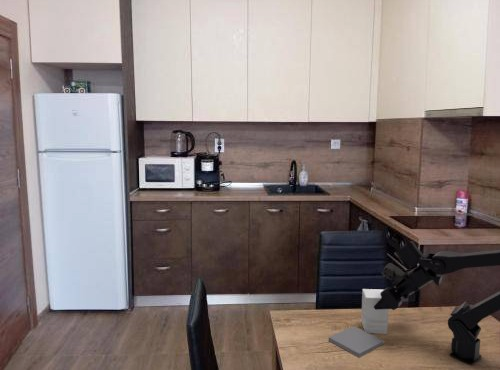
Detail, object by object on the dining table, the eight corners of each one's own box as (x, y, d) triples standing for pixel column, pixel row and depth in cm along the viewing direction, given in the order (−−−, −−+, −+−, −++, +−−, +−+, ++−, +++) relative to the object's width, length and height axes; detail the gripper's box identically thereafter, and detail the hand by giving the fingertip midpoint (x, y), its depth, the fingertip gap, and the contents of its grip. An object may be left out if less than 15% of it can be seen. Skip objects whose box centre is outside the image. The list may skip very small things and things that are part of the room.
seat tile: (383, 344, 128) (383, 340, 128) (359, 357, 121) (359, 353, 121) (352, 329, 137) (352, 325, 137) (328, 340, 130) (328, 337, 130)
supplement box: (382, 323, 141) (384, 289, 139) (387, 334, 134) (389, 298, 132) (360, 322, 142) (362, 288, 140) (364, 333, 135) (366, 297, 133)
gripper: (407, 250, 137) (374, 274, 145) (388, 266, 122) (352, 291, 131) (431, 278, 134) (395, 301, 142) (414, 297, 119) (375, 322, 127)
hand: (379, 303), depth 136 cm, fingers open, 9 cm apart
